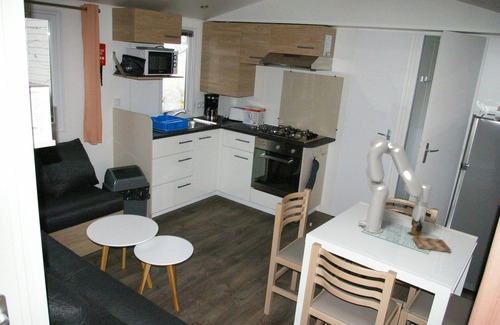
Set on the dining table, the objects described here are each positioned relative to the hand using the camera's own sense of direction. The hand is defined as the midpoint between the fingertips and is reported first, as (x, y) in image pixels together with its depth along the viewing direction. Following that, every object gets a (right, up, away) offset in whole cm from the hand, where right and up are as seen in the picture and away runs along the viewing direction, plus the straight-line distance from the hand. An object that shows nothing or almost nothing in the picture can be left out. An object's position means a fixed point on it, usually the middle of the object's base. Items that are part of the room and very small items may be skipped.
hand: (416, 228), depth 252 cm
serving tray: (+3, -8, -14) cm, 16 cm away
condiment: (-1, -4, +1) cm, 5 cm away
